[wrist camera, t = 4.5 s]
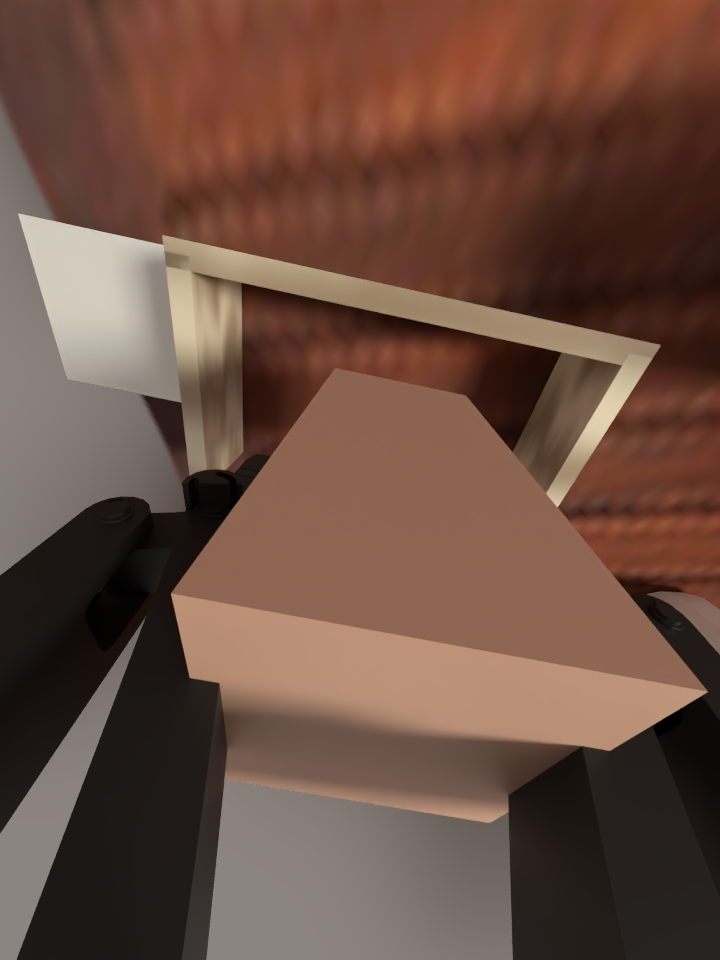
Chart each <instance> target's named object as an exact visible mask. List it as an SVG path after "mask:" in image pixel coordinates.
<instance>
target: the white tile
mask: <svg viewBox="0 0 720 960" xmlns="http://www.w3.org/2000/svg"><path fill="white" fill-rule="evenodd" d="M18 215H19V218H20V222H21V225H22V229H23V232H24V235H25V239H26V242H27V245H28V249H29V252H30V256H31V259H32V262H33V265H34V269H35V272H36V276H37V279H38V283H39V286H40V289H41V293H42V296H43V300H44V303H45V306H46V310H47V313H48V317H49V320H50V323H51V327H52V330H53V333H54V337H55V340H56V344H57V347H58V350H59V354H60V357H61V360H62V364H63V367H64V371H65V374H66V377H67V379H69V380H74V381H78V382H83V383H88V384H93V385H98V386H103V387H107V388H112V389H117V390H122V391H127V392H132V393H137V394H142V395H147V396H152V397H156V398H161V399H166V400H171V401H176V402H181V395H180V386H179V377H178V368H177V359H176V351H175V342H174V333H173V324H172V315H171V307H170V298H169V289H168V280H167V271H166V262H165V254H164V245H160V244H155V243H151V242H146V241H142V240H137V239H133V238H128V237H124V236H119V235H114V234H110V233H105V232H101V231H96V230H92V229H87V228H83V227H78V226H73V225H69V224H64V223H60V222H55V221H51V220H46V219H41V218H37V217H32V216H28V215H23V214H18Z"/></svg>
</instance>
